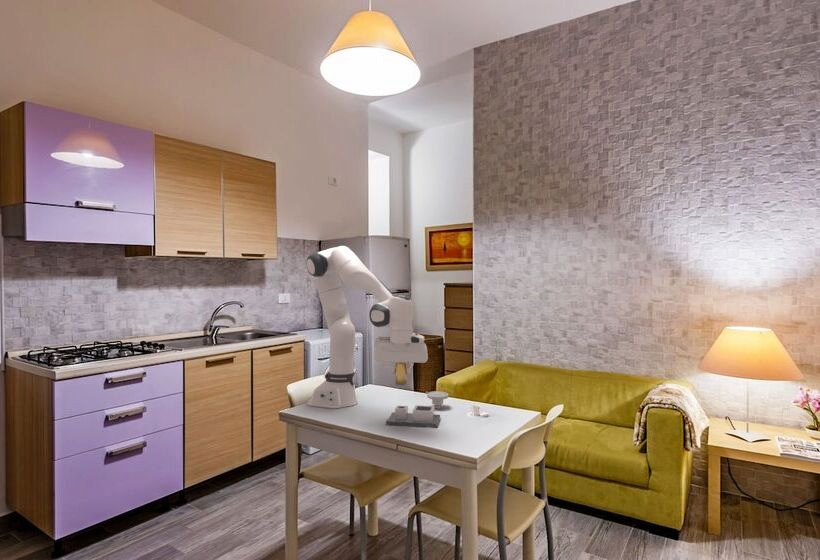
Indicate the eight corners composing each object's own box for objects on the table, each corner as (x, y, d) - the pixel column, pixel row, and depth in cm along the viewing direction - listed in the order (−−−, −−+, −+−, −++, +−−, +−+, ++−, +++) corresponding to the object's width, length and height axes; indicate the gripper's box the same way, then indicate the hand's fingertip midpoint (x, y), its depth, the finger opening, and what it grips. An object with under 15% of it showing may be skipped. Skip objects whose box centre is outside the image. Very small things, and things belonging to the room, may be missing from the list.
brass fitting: (394, 384, 173) (394, 363, 173) (396, 382, 177) (396, 361, 177) (405, 385, 172) (405, 364, 172) (407, 382, 177) (407, 361, 177)
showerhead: (425, 389, 208) (447, 389, 208) (425, 405, 208) (447, 405, 208) (425, 394, 198) (449, 394, 198) (425, 410, 198) (449, 411, 198)
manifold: (386, 424, 179) (386, 410, 179) (392, 415, 191) (392, 402, 191) (437, 427, 176) (437, 413, 176) (440, 418, 188) (440, 405, 188)
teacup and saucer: (491, 417, 191) (491, 407, 191) (476, 420, 187) (476, 410, 187) (478, 412, 199) (478, 402, 199) (463, 414, 195) (463, 405, 195)
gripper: (372, 337, 174) (372, 374, 174) (426, 339, 170) (426, 376, 170) (376, 335, 180) (376, 370, 180) (428, 336, 176) (428, 372, 176)
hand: (401, 373), depth 175 cm, fingers closed on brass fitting, 4 cm apart
